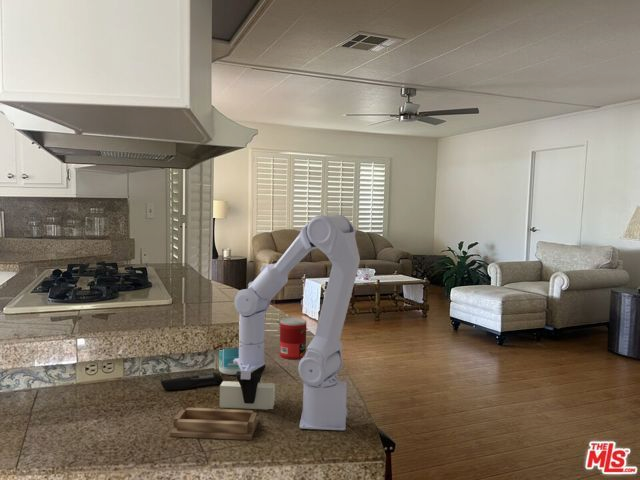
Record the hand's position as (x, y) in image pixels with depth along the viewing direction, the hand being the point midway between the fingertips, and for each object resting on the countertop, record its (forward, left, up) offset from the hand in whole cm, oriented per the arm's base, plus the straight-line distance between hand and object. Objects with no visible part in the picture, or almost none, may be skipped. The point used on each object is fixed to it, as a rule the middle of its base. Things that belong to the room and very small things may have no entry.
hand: (250, 399), depth 115 cm
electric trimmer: (+16, -11, -2) cm, 19 cm away
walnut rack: (+5, +12, -1) cm, 13 cm away
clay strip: (+1, 0, -2) cm, 2 cm away
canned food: (-6, -39, -2) cm, 39 cm away
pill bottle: (+9, -23, -2) cm, 25 cm away
